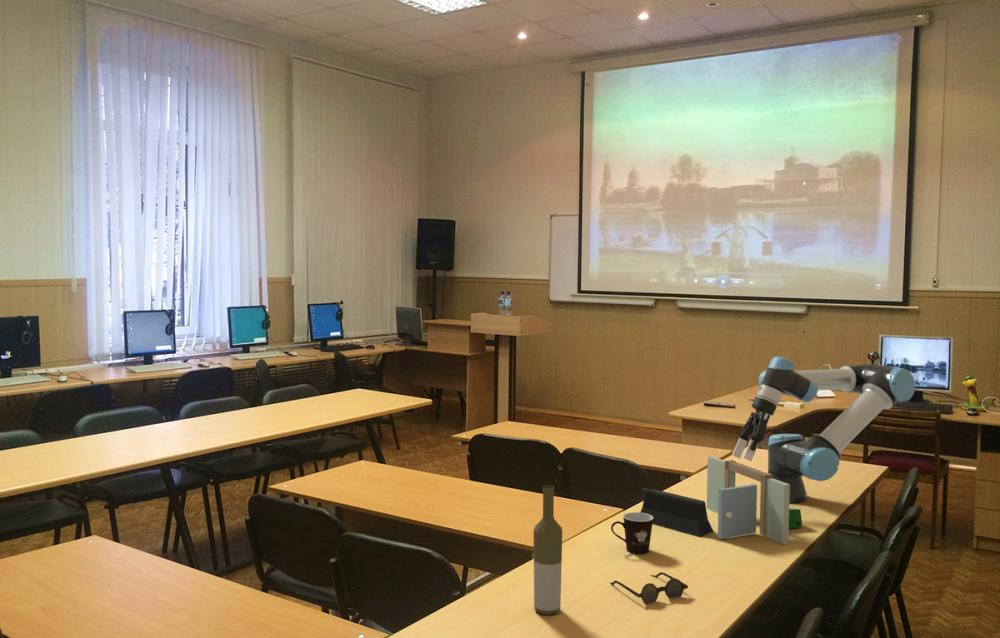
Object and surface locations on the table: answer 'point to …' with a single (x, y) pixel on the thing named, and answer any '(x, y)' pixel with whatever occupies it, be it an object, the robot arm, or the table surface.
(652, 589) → the eyeglasses
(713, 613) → the table surface
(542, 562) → the bottle
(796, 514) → the clamp
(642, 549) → the coffee mug
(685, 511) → the barrier
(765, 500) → the door frame
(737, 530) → the door
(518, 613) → the table surface
